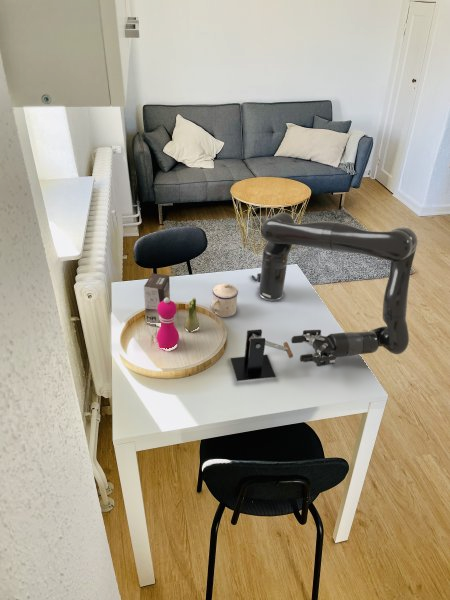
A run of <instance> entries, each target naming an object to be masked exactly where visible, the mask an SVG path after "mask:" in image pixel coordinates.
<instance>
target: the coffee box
mask: <svg viewBox="0 0 450 600" xmlns="http://www.w3.org/2000/svg"><path fill="white" fill-rule="evenodd" d="M170 286H171V285H170V275H169V274H162V273H154V272H152V273H151V274H150V276H149V277H148V278H147V280H146V282H145V284H144V285H143V293H144V295H143V296H144V311H145V313H144V314H145V325H147V326H151V327H156V326H155V325H156V324H150V323H161V321H160V320H159V314H158V312H157V307H158V304H159V303H160V302H161V301H163V300H164V299H165V298H166V297H167V298H169V299H170V300H171V290H170ZM146 322H150V323H146Z"/></svg>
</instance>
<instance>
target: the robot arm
mask: <svg viewBox="0 0 450 600" xmlns="http://www.w3.org/2000/svg"><path fill="white" fill-rule="evenodd" d="M260 234H261V236H262V238H263V239H264V241H267V242H266V244H265V246H264V247H263V249H262V250H263V252H262V261H261V270H260V273H257V274H256V278H255V276H254V275H251V278H252V279H253V281H254V282H258V283H259V286H258V287H259V288H258V296H259V297H260V298H261V299H263V300H265V301H268V302H276V301H280V300H281V299H282V298H283V296H284V288H285V282H286V280H285V279H286V273H287V267H288V260H289V254H290V252H291V250H292V248H293V246H301V247H307V248H312V249H313V248H315V249H320V250H325V251H332V252H339V253H340V252H341V253H346V254H347V253H348V254H357V255H358V254H360V255H365V256H370V257H373V258H378V259H381V260H385V261H388V262H390V268H389V274H388V279H387V283H386V286H385V290H384V295H383V300H382V301H383V302H382V320H383V322H384V323H385V325H386V326H385V325H384V326H378V327H377V328H374V329H370V330H369V331H347V332H346V331H345V332H336V333H329V334H328V335H326V336H325V335H322V330H321V329H304V330H303V331H302V334H301V335H293V336H292V337H291V340H290V341H291V344H301V343H304V344H305V343H306V344H307V345H308V346H310V347H312V348H313V350H314V353H308V354H307V353H306V354H300V356H299V361H300V362H302V363H309V362H310V363H311V362H312V363H314V364H315V366H316V367H323V366H330V365H331V366H332V365H335V363H336V360H337V358H344V357H345V358H346V357H353V356H358V355H366V354H373V353H376V352H377V351H378V350H379V347H380V348H381V347H382V348H383V349H385V350H387V351H388V352H389V353H391V354H393V355H401V354H403V353H405V351H406V350H407V349H408V346H409V342H410V334H409V327H408V323H407V311H408V310H407V309H408V297H409V287H410V286H409V285H410V278H411V271H412V266H413V262H414V259H415V255H416V251H417V249H418V248H417V247H418V243H419V241H418V236H417V234H416V233H415V231H414V230H413V229H411V228H410V227H405V226H400V227H396V228H394V229H391V230H390V231H373V230H365V229H360V228H359V227H356V226H354V225H351V224H349V223H345V222H338V221H330V220H328V221H327V220H325V221H324V220H322V221H320V220H319V221H312V222H306V223H295V220H294V218H293V216H291V215H290V214H289V213H287V212H283V211H282V212H278V213H276V214H274V215H272V216H271V217H269V218H267V219H266V220H265V221H264V222H263V223H262V225H261V227H260Z"/></svg>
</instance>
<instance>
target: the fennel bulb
mask: <svg viewBox="0 0 450 600" xmlns="http://www.w3.org/2000/svg"><path fill="white" fill-rule="evenodd" d="M196 307H197V299H196V297H193V298H192V299H191V300H190V301H189V305H188V306H187V309H188V315H187V317H186V320H185V323H184V329H185V328H186V329H187V330H188V331H193V330H195V329H197V328H198V327H199V328H200V321H199V318H198V315H197V312H196V310H197V309H196Z"/></svg>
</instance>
